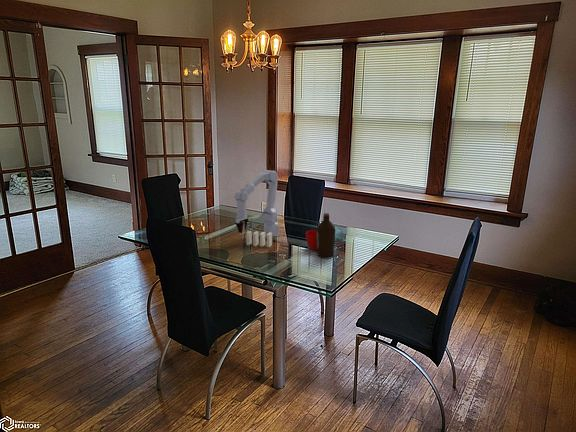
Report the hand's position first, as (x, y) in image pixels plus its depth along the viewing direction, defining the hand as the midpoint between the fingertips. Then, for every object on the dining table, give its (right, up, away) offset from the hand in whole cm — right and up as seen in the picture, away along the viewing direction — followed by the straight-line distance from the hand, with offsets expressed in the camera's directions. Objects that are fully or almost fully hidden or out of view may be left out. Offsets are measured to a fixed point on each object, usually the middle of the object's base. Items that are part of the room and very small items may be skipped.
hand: (242, 231), depth 255 cm
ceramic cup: (+46, -10, -7) cm, 47 cm away
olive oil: (+50, -13, -19) cm, 56 cm away
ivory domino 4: (+17, -9, -3) cm, 20 cm away
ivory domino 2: (+9, -8, -1) cm, 12 cm away
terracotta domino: (0, -2, 0) cm, 2 cm away
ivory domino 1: (+4, -8, +1) cm, 9 cm away
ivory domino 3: (+13, -9, -2) cm, 16 cm away
